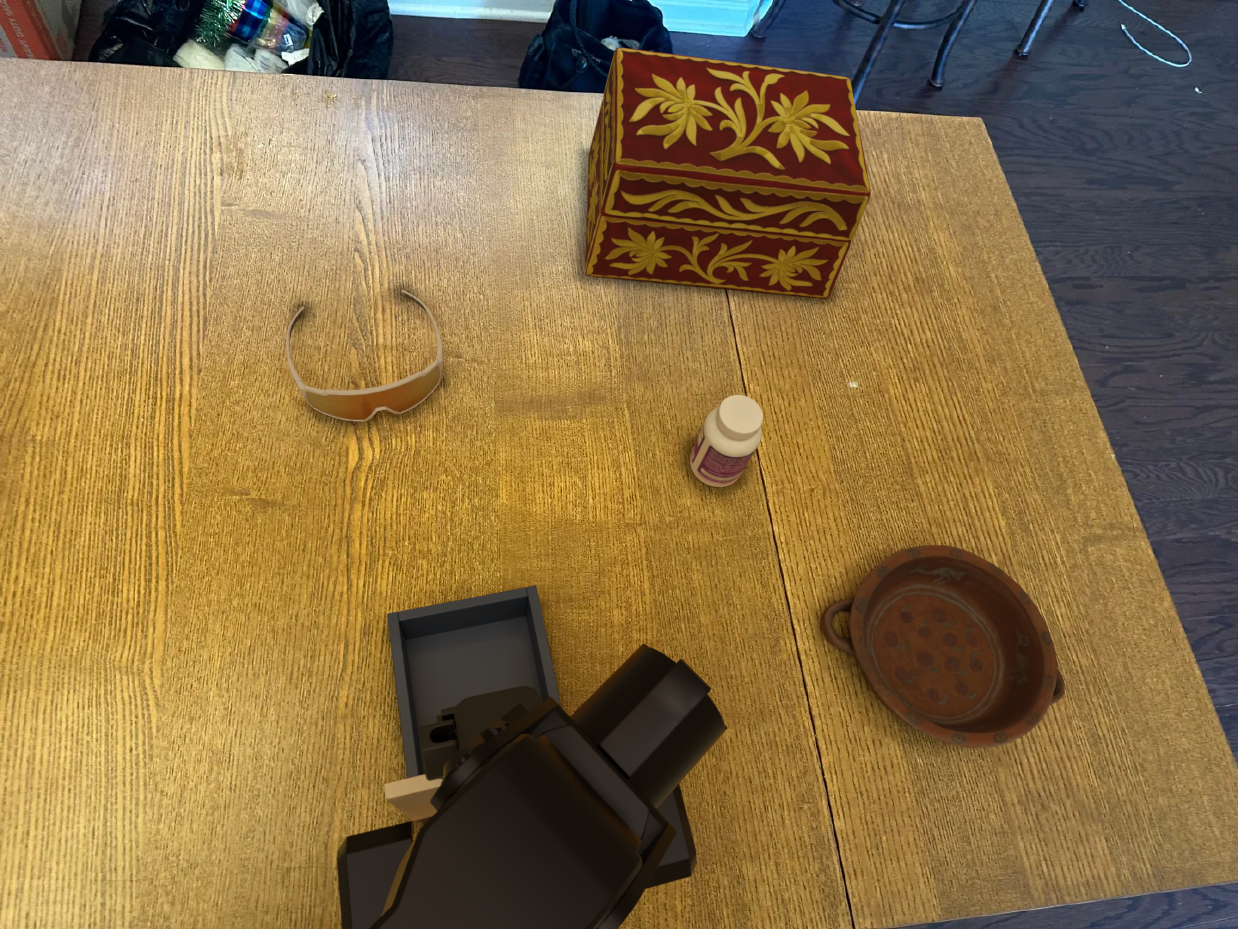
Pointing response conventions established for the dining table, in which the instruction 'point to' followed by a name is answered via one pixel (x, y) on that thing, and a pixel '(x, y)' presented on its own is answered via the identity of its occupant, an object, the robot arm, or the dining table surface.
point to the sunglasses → (374, 399)
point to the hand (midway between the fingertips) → (517, 860)
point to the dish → (951, 646)
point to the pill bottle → (727, 441)
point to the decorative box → (723, 175)
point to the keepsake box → (466, 657)
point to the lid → (413, 796)
